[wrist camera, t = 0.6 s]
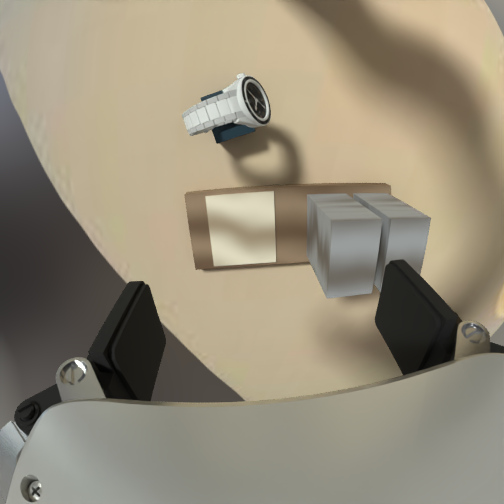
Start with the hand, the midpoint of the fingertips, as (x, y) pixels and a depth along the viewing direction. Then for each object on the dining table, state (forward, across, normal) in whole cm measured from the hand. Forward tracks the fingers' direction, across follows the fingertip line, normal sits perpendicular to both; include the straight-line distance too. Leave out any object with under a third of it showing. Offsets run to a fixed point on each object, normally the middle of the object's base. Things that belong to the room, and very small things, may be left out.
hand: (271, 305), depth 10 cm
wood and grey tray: (+25, -5, +6) cm, 26 cm away
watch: (+25, +2, -8) cm, 27 cm away
